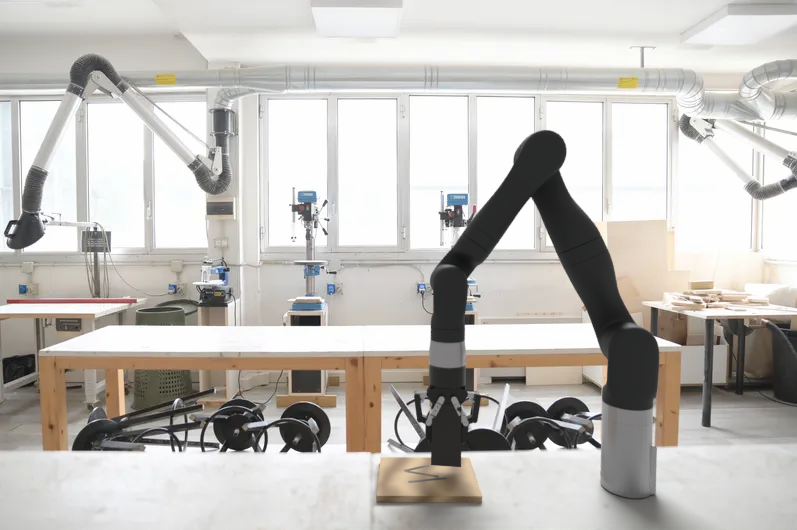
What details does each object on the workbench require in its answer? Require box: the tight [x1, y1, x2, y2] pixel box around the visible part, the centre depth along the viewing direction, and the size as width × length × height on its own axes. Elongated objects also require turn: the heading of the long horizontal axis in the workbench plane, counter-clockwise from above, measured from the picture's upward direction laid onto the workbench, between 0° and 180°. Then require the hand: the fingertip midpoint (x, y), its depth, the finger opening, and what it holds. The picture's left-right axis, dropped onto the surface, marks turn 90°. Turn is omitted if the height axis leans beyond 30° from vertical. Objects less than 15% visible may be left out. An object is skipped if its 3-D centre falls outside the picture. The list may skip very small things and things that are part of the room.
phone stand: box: [430, 402, 463, 467], centre depth 95 cm, size 9×6×12 cm, turn 172°
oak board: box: [376, 456, 483, 504], centre depth 95 cm, size 20×16×1 cm
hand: (446, 441), depth 95 cm, fingers closed on phone stand, 6 cm apart
